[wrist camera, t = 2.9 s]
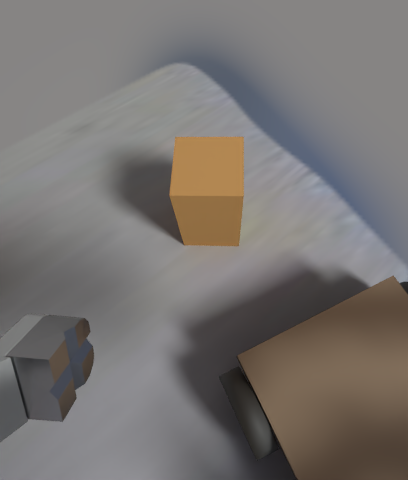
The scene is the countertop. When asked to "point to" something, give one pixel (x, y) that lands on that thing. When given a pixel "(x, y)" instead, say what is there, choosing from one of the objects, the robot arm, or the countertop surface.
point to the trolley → (332, 390)
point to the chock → (208, 189)
